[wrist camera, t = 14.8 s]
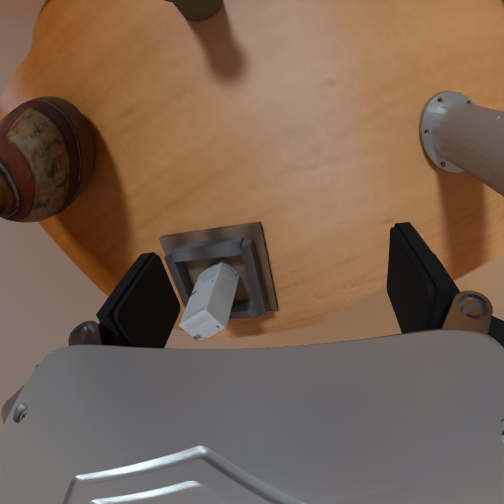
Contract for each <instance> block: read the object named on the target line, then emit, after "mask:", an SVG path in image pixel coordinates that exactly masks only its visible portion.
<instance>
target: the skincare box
mask: <svg viewBox="0 0 504 504" xmlns="http://www.w3.org/2000/svg"><path fill="white" fill-rule="evenodd" d="M238 280H239V274H238V273H237V272H236V271H235V270H234V269H233V268H232V267H231V265H230V264H229V263H228V262H227V261H226V260H225V259H223V260H220V261H219V262H217V263H215V264H214V265H212V266H211V267H209V268H208V269H206V270H205V271H203V272H202V273H201V274H200V275H199V277H198V279H197V282H196V284H195V286H194V289H193V291H192V294H191V296H190V299H189V301H188V303H187V306H186V308H185V311H184V314H183V316H182V319H181V321H180V324H179V326H180V327H181V328H182V329H184V330H185V331H186V332H187V333H189V334H190V335H191V336H192V337H194V338H195V339H196V340H197V341H200V340H202V339H204V338H206V337H210V336H213V335H215V334H216V333H217V332H219V331H221V330H224V329H226V328H227V324H228V320H229V316H230V312H231V308H232V304H233V300H234V296H235V292H236V288H237V284H238Z"/></svg>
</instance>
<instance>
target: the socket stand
mask: <svg viewBox="0 0 504 504" xmlns="http://www.w3.org/2000/svg"><path fill="white" fill-rule="evenodd" d="M159 240H160V242H161V245H162V248H163V250H164V253H165V261H166V263H167V266H168V268H169V271H170V273H171V276H172V278H173V281H174V283H175V285H176V288H177V290H178V293H179V295H180V297H181V300H182V302H183V304H184V306H185V308H186V306H187V303H188V301H189V299H190V296H191V294H192V291H193V289H194V286H195V284H196V282H197V279H198V277H199V275H200V274H201V273H202V272H203V271H205V270H206V269H208V268H209V267H211V266H212V265H214V264H215V263H217V262H219V261H220V260H223V259H225V260H226V261H227V262H228V263H229V264H230V265H231V267H232V268H233V269H234V270H235V271H236V272H237V273H238V274H239V280H238V284H237V288H236V292H235V296H234V300H233V304H232V308H231V312H230V316H229V319H231V318H249V317H258V315H262V314H266V311H274V310H277V309H278V306H277V300H276V295H275V290H274V285H273V280H272V275H271V270H270V265H269V260H268V255H267V250H266V245H265V240H264V235H263V230H262V225H261V222H256V223H248V224H241V225H234V226H226V227H219V228H212V229H205V230H199V231H192V232H185V233H178V234H172V235H166V236H161V237H160V239H159Z"/></svg>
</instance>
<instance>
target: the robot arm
mask: <svg viewBox="0 0 504 504" xmlns="http://www.w3.org/2000/svg"><path fill="white" fill-rule="evenodd" d="M424 131H426V132H425V133H424ZM420 138H421V142H422V145H423V148H424V150H425V152H426V154H427V156H428V157H429V159H430V160H431V161H432V162H433V163H434V164H435V165H436V166H438V167H439V168H441V169H442V170H445V171H447V172H450V173H462V172H467V173H468V174H470V175H472V176H473V177H475V178H476V179H478V180H479V181H481V182H483V183H484V184H486V185H487V186H489V187H490V188H492V189H493V190H495V191H496V192H498V193H499V194H500V195H502V196H503V197H504V112H502V111H498V110H494V109H490V108H485V107H481V106H476V104H475V103H474V102H473V101H472V100H471V99H469V98H468V97H467V96H465V95H463V94H461V93H458V92H453V91H446V92H441V93H438V94H436V95H435V96H433V97H432V98H431V99H430V100H429V101H428V102H427V104H426V105H425V107H424V109H423V111H422V115H421V118H420ZM387 292H388V295H389V298H390V301H391V303H392V306H393V309H394V312H395V315H396V317H397V320H398V323H399V326H400V329H401V332H402V334H396V335H387V336H381V337H374V338H366V339H359V340H350V341H342V342H332V343H323V344H311V345H300V346H285V347H271V348H270V347H268V348H244V349H170V348H164V347H165V345H166V342H167V340H168V338H169V335H170V333H171V331H172V329H173V326H174V324H175V322H176V319H177V317H178V315H179V313H180V303H179V301H178V299H177V296H176V294H175V292H174V290H173V287H172V285H171V282H170V280H169V278H168V275H167V273H166V270H165V268H164V266H163V263H162V261H161V258H160V257H159V256H158V255H156V254H155V253H154V252H152V253H145V254H141V255H140V256H139V257H138V259H137V260H136V261H135V262H134V264H133V265H132V266H131V268H130V269H129V270H128V272H127V273H126V274H125V276H124V277H123V278H122V280H121V281H120V282H119V284H118V285H117V286H116V288H115V289H114V290H113V292H112V293H111V295H110V296H109V297H108V299H107V300H106V302H105V303H104V304H103V306H102V307H101V309H100V310H99V312H98V313H97V314H96V316H97V317H98V319H99V321H100V322H99V324H97V323H96V322H95V321H86V322H83V323H81V324H80V325H78V326H77V327H76V328H74V329H73V331H72V332H71V334H70V336H69V346H67V347H63V348H60V349H57V350H55V351H53V352H51V353H49V354H47V355H46V356H45V357H44V358H43V360H42V361H41V362H40V363H39V364H38V365H37V366H36V368H35V370H34V372H33V373H32V375H31V376H30V378H29V379H28V381H27V382H26V384H25V385H24V386H23V387H22V388H21V389H20V390H18V391H17V392H16V393H15V394H14V395H13V396H12V397H11V398H10V399H9V400H7V401H6V403H5V404H4V406H3V408H2V411H1V415H2V419H3V422H4V426H3V428H2V430H1V432H0V504H504V321H502V320H500V319H497V318H496V317H493V316H492V313H493V310H492V305H491V302H490V301H489V300H488V298H486V297H485V296H484V295H482V294H480V293H478V292H475V291H463V292H460V291H459V289H458V288H457V286H456V285H455V283H454V282H453V280H452V279H451V277H450V275H449V274H448V272H447V271H446V270H445V268H444V267H443V265H442V264H441V262H440V261H439V259H438V258H437V256H436V255H435V254H434V253H432V251H431V250H430V249H429V247H428V246H427V245H426V243H425V242H424V240H423V239H422V238H421V236H420V235H419V234H418V232H417V231H416V230H415V229H414V227H413V226H412V225H411V223H410V222H405V223H396V224H395V226H394V228H391V229H390V246H389V263H388V276H387Z"/></svg>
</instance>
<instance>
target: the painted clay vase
mask: <svg viewBox="0 0 504 504" xmlns="http://www.w3.org/2000/svg"><path fill="white" fill-rule="evenodd" d="M94 155H95V149H94V141H93V136H92V132H91V129H90V126H89V124H88V122H87V120H86V119H85V118H84V116H83V115H82V114H81V112H80V111H79V110H78V109H77V108H76V107H75V106H74V105H73V104H71V103H70V102H68V101H66V100H64V99H61V98H58V97H55V96H44V97H40V98H36V99H33V100H29V101H27V102H25V103H23V104H21V105H20V106H18V107H17V108H15V109H14V110H12V111H11V112H10V113H9V114H8V115H7V116H5V117H4V118H3V119H2V120H1V122H0V217H2V218H4V219H6V220H10V221H15V222H37V221H41V220H44V219H47V218H49V217H52V216H54V215H56V214H57V213H59V212H61V211H62V210H64V209H65V208H67V207H68V206H69V205H70V204H71V203H72V202H73V201H74V200H75V199H76V198H77V197H78V196H79V195H80V194H81V193H82V191H83V190H84V188H85V187H86V185H87V184H88V182H89V180H90V177H91V174H92V171H93V166H94Z"/></svg>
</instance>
